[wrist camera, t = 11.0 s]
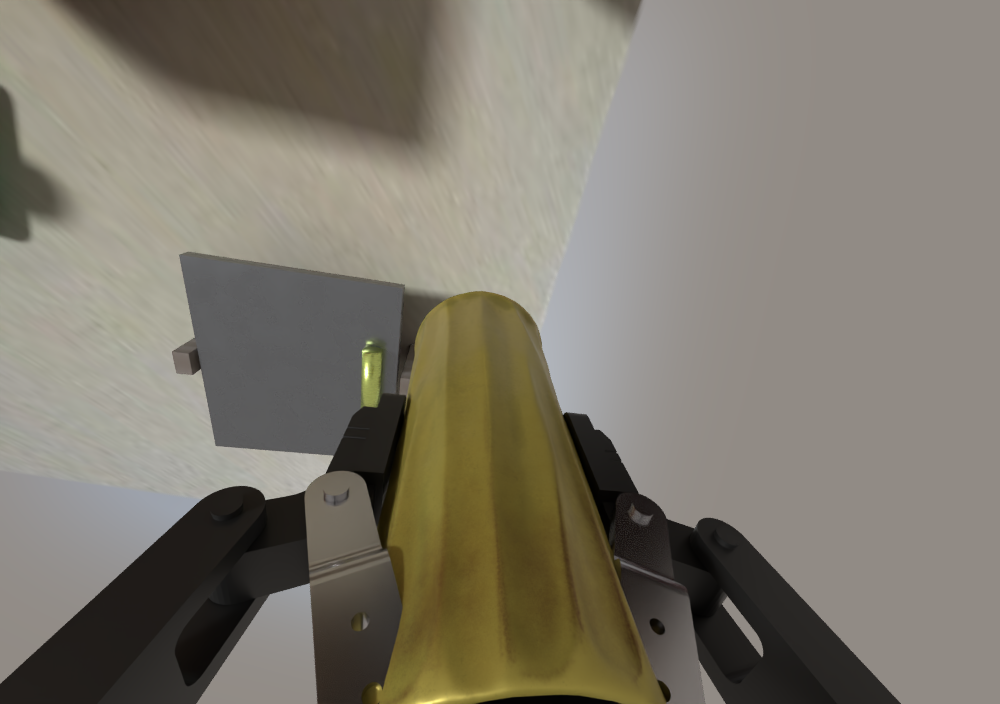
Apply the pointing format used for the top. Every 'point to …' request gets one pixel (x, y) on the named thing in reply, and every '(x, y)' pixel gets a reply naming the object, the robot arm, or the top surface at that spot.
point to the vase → (498, 529)
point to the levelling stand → (190, 364)
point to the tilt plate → (290, 350)
